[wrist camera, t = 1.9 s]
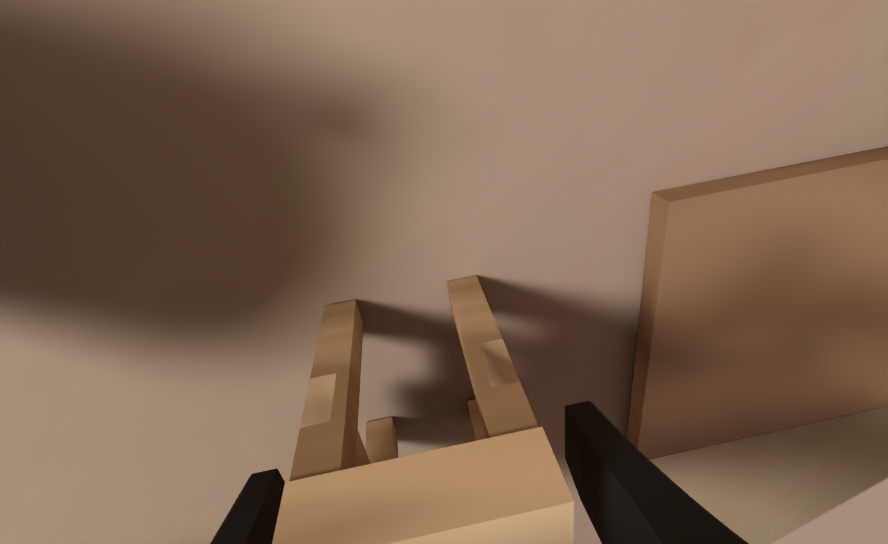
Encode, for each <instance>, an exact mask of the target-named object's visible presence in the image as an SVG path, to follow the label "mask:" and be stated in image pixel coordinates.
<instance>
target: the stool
mask: <svg viewBox="0 0 888 544" xmlns="http://www.w3.org/2000/svg"><path fill="white" fill-rule="evenodd" d="M447 287H448V292H449V298H450V304H451V309H452V312H453V316H454V320H455V324H456V327H457V331H458V335H459V339H460V342H461V346H462V350H463V353H464V357H465V361H466V365H467V368H468V372H469V376H470V380H471V383H472V387H473V391H474V394H475V398H476V399H473V400H469V401H467V403H468V409H469V415H470V420H471V424H472V428H473V432H474V436H475V441H473V442H469V443H464V444H459V445H455V446H450V447H446V448H441V449H436V450H432V451H427V452H423V453H418V454H413V455H409V456H404V457H400V458H398V443H397V432H396V429H395V425H394V422H393V419H392V417H389V418H384V419H379V420H375V421H370V422H366V451H365V448H364V445H363V443H362V440H361V437H360V435H359V432H358V429H357V427H358V410H359V392H360V374H361V356H362V338H363V322H362V318H361V315H360V312H359V309H358V305H357V302H356V300H352V301H347V302H342V303H337V304H332V305H327V306H325V309H324V313H323V318H322V323H321V328H320V333H319V338H318V343H317V348H316V353H315V358H314V363H313V368H312V372H311V377H310V382H309V387H308V392H307V397H306V402H305V407H304V412H303V417H302V422H301V427H300V431H299V436H298V441H297V446H296V451H295V456H294V461H293V466H292V471H291V476H290V481H289V482H285V485H284V490H283V495H282V499H281V504H280V509H279V513H278V518H277V523H276V527H275V532H274V537H273V542H272V544H573V542H574V501H573V498H572V496H571V493H570V491H569V489H568V486H567V484H566V482H565V479H564V477H563V474H562V472H561V470H560V467H559V465H558V463H557V460H556V458H555V455H554V453H553V451H552V448H551V446H550V444H549V441H548V439H547V436H546V434H545V432H544V429H543V427H539V426H538V424H537V421H536V419H535V416H534V414H533V412H532V409H531V407H530V404H529V402H528V399H527V397H526V394H525V392H524V390H523V387H522V385H521V382H520V380H519V377H518V375H517V373H516V370H515V368H514V365H513V363H512V360H511V358H510V356H509V353H508V351H507V348H506V346H505V343H504V341H503V339H502V336H501V334H500V331H499V329H498V326H497V324H496V322H495V319H494V317H493V314H492V312H491V309H490V307H489V305H488V302H487V300H486V297H485V295H484V292H483V290H482V288H481V285H480V283H479V280H478V278H477V276H472V277H467V278H462V279H457V280H452V281H447Z"/></svg>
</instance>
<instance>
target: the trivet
mask: <svg viewBox="0 0 888 544" xmlns="http://www.w3.org/2000/svg"><path fill="white" fill-rule="evenodd" d="M886 406H888V147H883V148H878V149H873V150H868V151H862V152H857V153H852V154H847V155H842V156H837V157H832V158H827V159H821V160H816V161H811V162H806V163H801V164H796V165H791V166H786V167H780V168H775V169H770V170H765V171H760V172H755V173H750V174H744V175H739V176H734V177H729V178H724V179H719V180H714V181H709V182H703V183H698V184H693V185H688V186H683V187H678V188H673V189H668V190H662V191H657V192H653V193H652V203H651V212H650V222H649V231H648V241H647V250H646V259H645V269H644V278H643V288H642V297H641V307H640V316H639V325H638V335H637V344H636V354H635V363H634V373H633V382H632V391H631V401H630V410H629V420H628V429H627V439H628V440H629V441H630V442H631V443H632V444H633V445H634V446H635V447H636V448H637V449H638V450H639V451H640V452H641V453H642V454H643V455H644V456H645V457H647V458H648V459H653V458H658V457H662V456H667V455H671V454H676V453H680V452H685V451H689V450H694V449H698V448H702V447H707V446H711V445H716V444H720V443H725V442H729V441H734V440H738V439H743V438H747V437H752V436H756V435H761V434H765V433H770V432H774V431H779V430H783V429H787V428H792V427H796V426H801V425H805V424H810V423H814V422H819V421H823V420H828V419H832V418H837V417H841V416H846V415H850V414H855V413H859V412H863V411H868V410H872V409H877V408H881V407H886Z"/></svg>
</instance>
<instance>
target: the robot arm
mask: <svg viewBox="0 0 888 544" xmlns="http://www.w3.org/2000/svg"><path fill="white" fill-rule="evenodd" d="M565 459H566V461H567V464H568V467H569V470H570V472H571V475H572V478H573V481H574V483H575V486H576V488H577V491H578V494H579V496H580V499H581V501H582V503H583V505H584V507H585V509H586V512H587V514H588V516H589V518H590V520H591V522H592V524H593V526H594V528H595V530H596V532H597V534H598V536H599V538H600V540H601V542H602V544H748V543H747V542H746V541H744V540H743V539H742V538H740V537H739V536H738V535H737V534H735V533H734V532H733V531H731V530H730V529H729V528H728V527H726V526H725V525H724V524H723V523H721V522H720V521H719V520H718V519H716V518H715V517H714V516H713V515H712V514H710V513H709V512H708V511H707V510H705V509H704V508H703V507H702V506H701V505H700V504H698V503H697V502H696V501H695V500H694V499H692V498H691V497H690V496H689V495H688V494H686V493H685V492H684V491H683V490H682V489H681V488H680V487H678V486H677V485H676V484H675V483H674V482H673V481H672V480H671V479H669V478H668V477H667V476H666V475H665V474H664V473H663V472H662V471H661V470H660V469H659V468H657V467H656V466H655V465H654V464H653V463H652V462H651V461H650V460H649V459H648V458H647V457H645V456H644V455H643V454H642V453H641V452H640V451H639V450H638V449H637V448H636V447H635V446H634V445H633V444H632V443H631V442H630V441H629V440H628V439H627V438H626V437H625V436H624V435H623V434H622V433H621V432H620V431H619V430H618V429H617V428H616V427H615V426H614V425H613V424H612V423H611V422H610V421H609V420H608V419H607V418H606V417H605V416H604V415H603V414H602V413H601V412H600V411H599V410H598V408H597V407H596V406H595V405H594V404H593V403H591V402H590V401H586V402H581V403H577V404H572V405H568V406H565ZM284 485H285V482H284V480H283V478H282V476H281V474H280V473H279V471H278V469H273V470H268V471H263V472H259V473H254V474H252V475H251V476H250V478H249V479H248V481H247V482H246V484H245V486H244V488H243V489H242V491H241V493H240V494H239V496H238V498H237V499H236V501H235V503H234V505H233V506H232V508H231V510H230V511H229V513H228V515H227V516H226V518H225V520H224V522H223V523H222V525H221V527H220V528H219V530H218V532H217V533H216V535H215V537H214V538H213V540H212V542H211V543H210V544H272V542H273V537H274V532H275V527H276V523H277V518H278V513H279V509H280V504H281V499H282V495H283V490H284Z"/></svg>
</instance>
